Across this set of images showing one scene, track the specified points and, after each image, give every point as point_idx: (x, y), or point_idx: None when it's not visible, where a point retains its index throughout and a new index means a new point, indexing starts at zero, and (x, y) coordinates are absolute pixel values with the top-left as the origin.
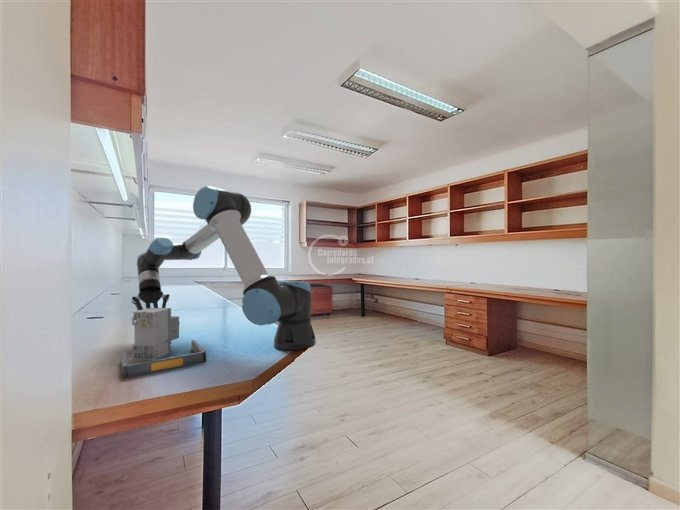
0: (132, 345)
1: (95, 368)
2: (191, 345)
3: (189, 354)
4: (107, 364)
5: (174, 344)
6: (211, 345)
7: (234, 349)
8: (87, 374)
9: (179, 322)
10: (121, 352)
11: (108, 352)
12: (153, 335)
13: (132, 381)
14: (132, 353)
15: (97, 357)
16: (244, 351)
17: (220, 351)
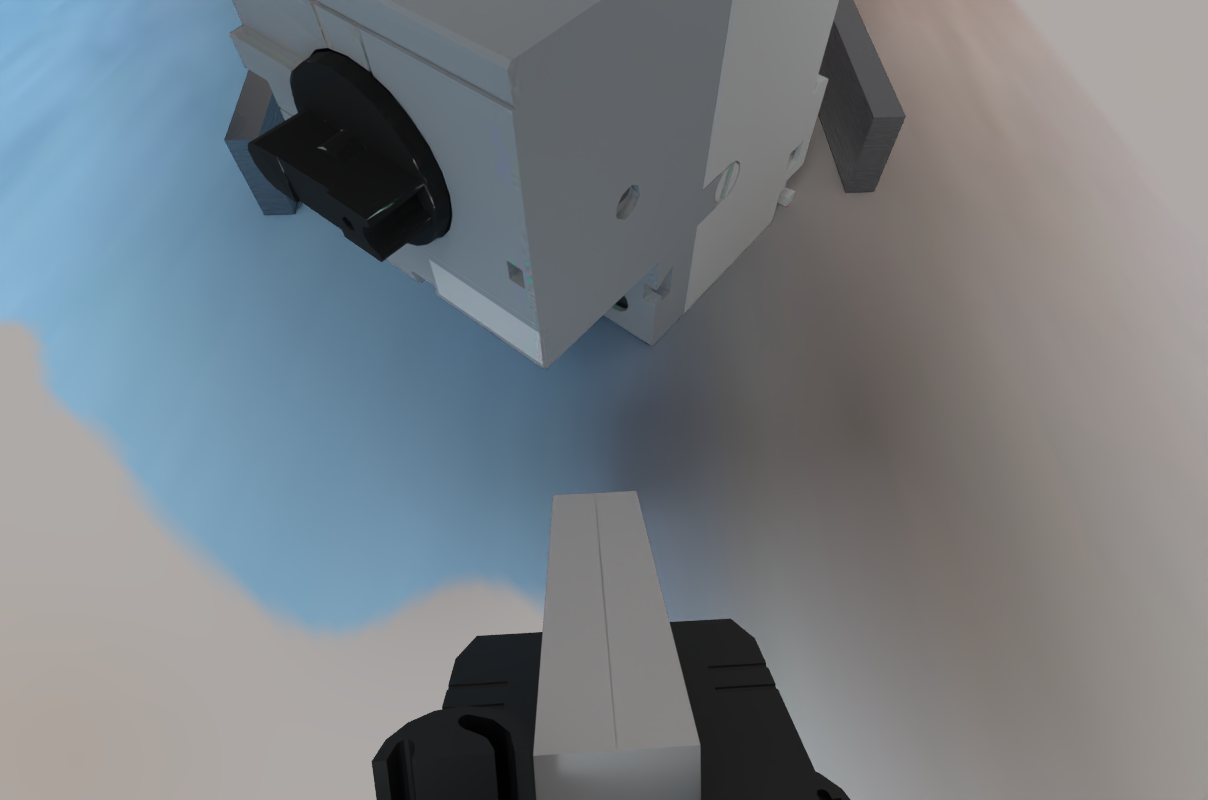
0: (825, 84)
1: (1019, 138)
2: None
3: None
4: (963, 178)
5: (365, 495)
6: (79, 239)
7: (33, 64)
8: (1017, 65)
9: (233, 32)
10: (894, 97)
11: (1148, 576)
12: None
13: None
14: (805, 156)
15: (1175, 420)
16: (24, 6)
17: (143, 71)
